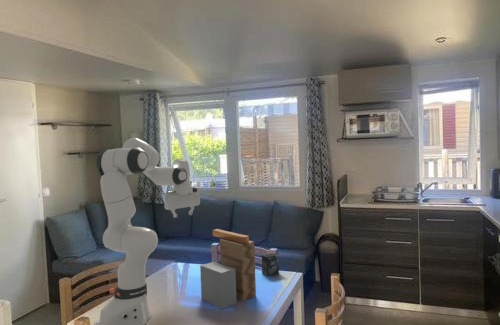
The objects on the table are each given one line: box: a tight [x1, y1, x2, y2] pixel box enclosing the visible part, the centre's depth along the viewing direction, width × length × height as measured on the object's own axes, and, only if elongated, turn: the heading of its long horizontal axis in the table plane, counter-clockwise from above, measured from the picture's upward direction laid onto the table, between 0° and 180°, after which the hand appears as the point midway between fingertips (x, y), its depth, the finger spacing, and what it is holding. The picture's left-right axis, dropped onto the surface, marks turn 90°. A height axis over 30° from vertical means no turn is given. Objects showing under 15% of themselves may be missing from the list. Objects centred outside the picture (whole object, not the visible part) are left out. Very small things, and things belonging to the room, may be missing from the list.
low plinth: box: [199, 261, 237, 310], centre depth 179 cm, size 8×16×16 cm, turn 42°
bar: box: [212, 228, 250, 244], centre depth 190 cm, size 3×24×3 cm, turn 42°
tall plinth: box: [219, 238, 257, 302], centre depth 187 cm, size 8×16×26 cm, turn 42°
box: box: [261, 252, 280, 277], centre depth 216 cm, size 8×6×11 cm
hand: (183, 216), depth 206 cm, fingers open, 8 cm apart
